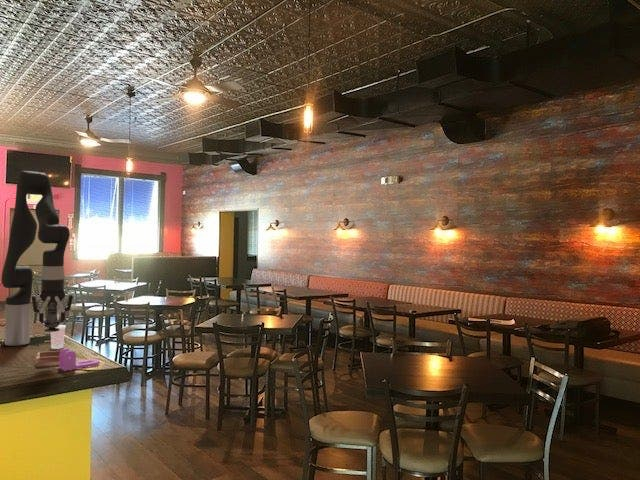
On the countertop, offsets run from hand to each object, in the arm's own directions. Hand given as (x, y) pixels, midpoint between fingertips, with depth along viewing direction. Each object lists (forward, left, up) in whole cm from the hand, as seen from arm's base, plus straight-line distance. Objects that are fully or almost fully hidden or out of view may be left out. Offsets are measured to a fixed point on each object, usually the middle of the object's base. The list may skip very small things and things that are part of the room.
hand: (52, 322), depth 192 cm
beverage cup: (-24, +2, -15) cm, 28 cm away
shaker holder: (0, 0, -15) cm, 15 cm away
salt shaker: (0, 0, -3) cm, 3 cm away
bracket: (+10, +9, -15) cm, 21 cm away
